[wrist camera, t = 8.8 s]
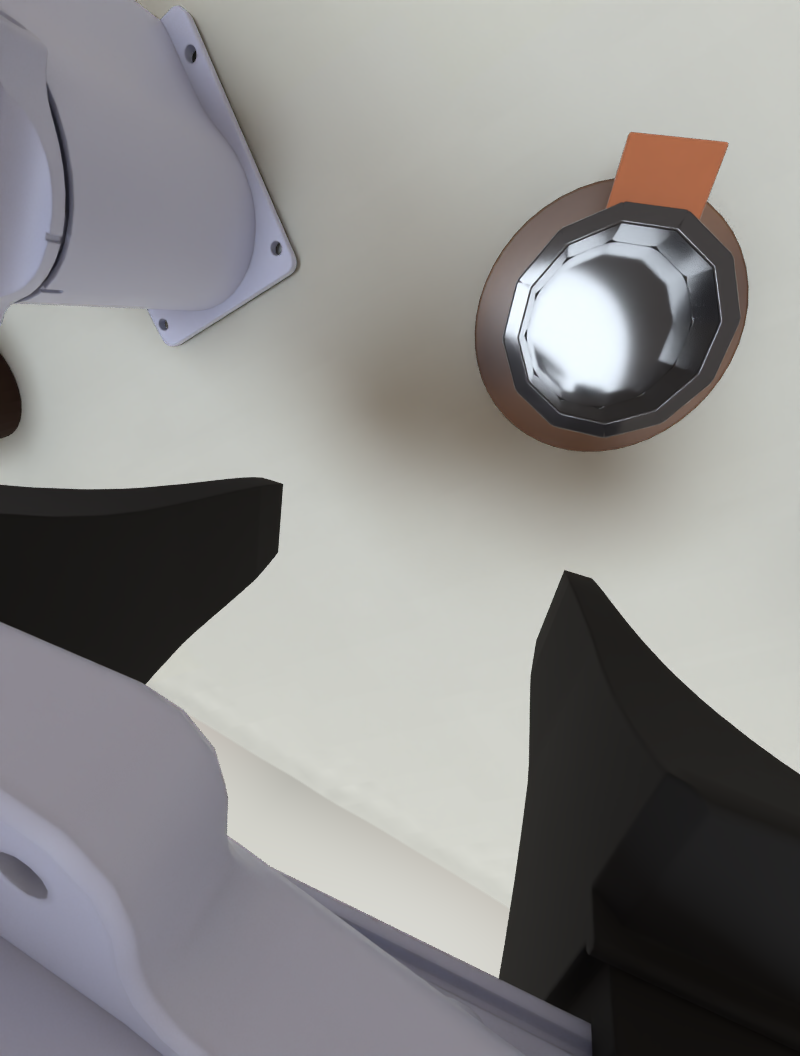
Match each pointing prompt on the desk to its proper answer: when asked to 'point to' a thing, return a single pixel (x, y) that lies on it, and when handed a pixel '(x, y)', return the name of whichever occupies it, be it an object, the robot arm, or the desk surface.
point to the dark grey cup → (628, 298)
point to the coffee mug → (8, 401)
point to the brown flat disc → (499, 301)
